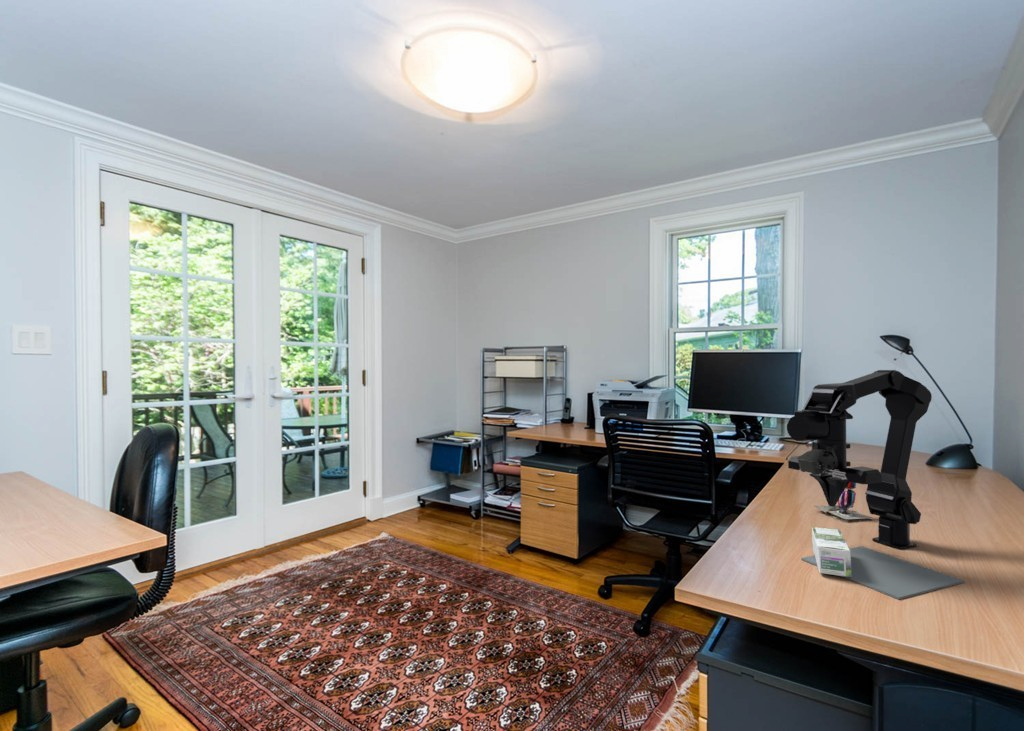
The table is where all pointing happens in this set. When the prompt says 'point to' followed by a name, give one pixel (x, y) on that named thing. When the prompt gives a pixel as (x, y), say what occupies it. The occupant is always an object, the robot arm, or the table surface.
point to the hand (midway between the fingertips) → (831, 506)
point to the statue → (845, 506)
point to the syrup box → (831, 552)
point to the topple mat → (892, 574)
